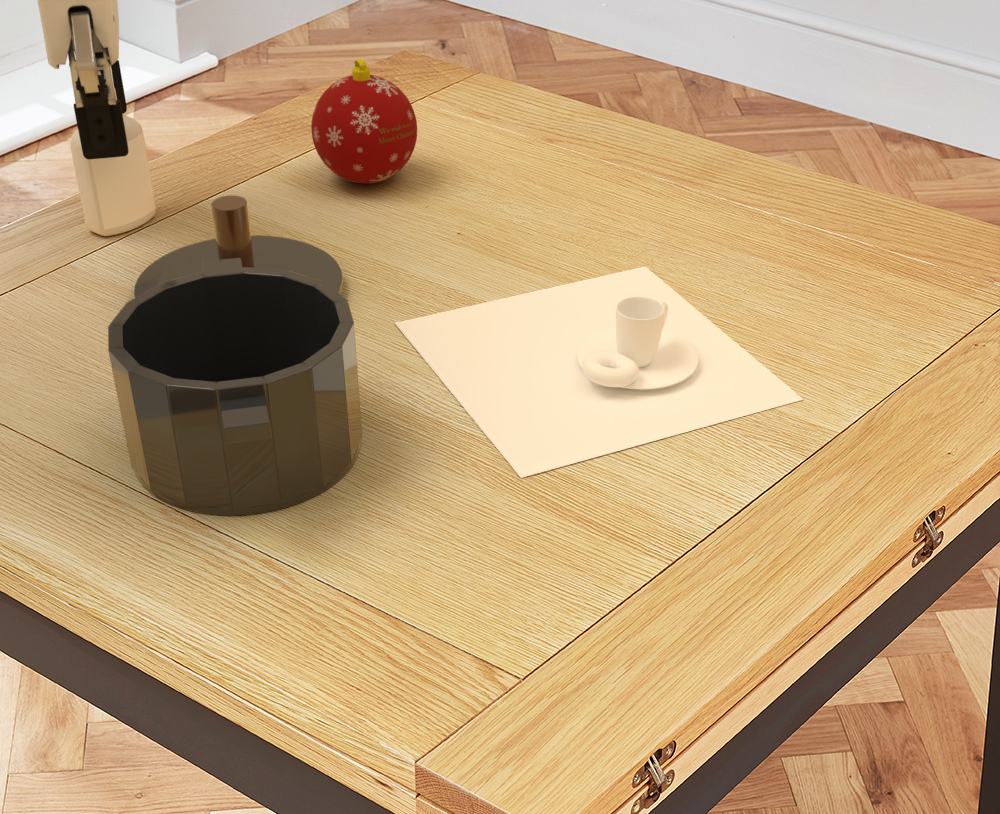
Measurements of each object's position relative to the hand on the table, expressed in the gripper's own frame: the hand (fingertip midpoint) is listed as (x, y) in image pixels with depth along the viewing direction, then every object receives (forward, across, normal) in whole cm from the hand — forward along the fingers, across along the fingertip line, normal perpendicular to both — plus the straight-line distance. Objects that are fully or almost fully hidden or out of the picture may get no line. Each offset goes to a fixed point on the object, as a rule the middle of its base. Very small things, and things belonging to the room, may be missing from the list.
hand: (106, 133), depth 101 cm
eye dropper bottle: (+8, 0, 0) cm, 8 cm away
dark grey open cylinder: (+7, +33, +7) cm, 35 cm away
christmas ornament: (+8, -4, +20) cm, 22 cm away
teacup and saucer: (+8, +28, +30) cm, 42 cm away
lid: (+7, +14, +8) cm, 18 cm away
